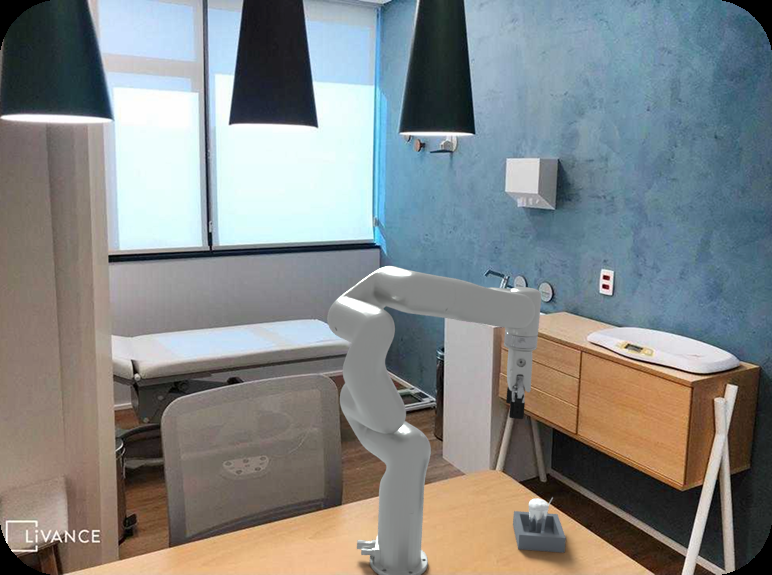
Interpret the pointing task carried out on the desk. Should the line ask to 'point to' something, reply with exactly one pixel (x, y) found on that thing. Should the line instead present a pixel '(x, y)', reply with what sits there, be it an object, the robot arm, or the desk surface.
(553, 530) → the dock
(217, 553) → the desk surface
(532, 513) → the milkshake
